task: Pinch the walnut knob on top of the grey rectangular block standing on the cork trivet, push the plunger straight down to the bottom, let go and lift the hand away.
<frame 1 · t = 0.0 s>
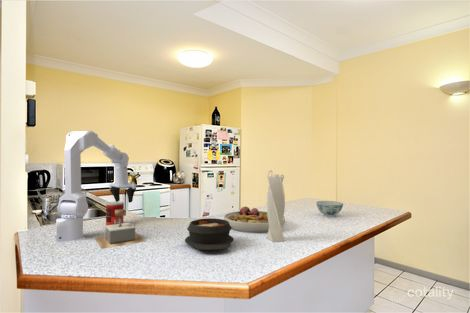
hand: (124, 201, 138), 11 cm above the counter, tool pointing down, fingers open, 7 cm apart
bowl: (254, 226, 132), on the counter
grey rectangular block: (120, 239, 105), resting on cork trivet
chinaware: (329, 216, 158), on the counter
plunger: (120, 219, 105), point 8 cm above the counter, slide at 3.0 cm
skyscraper: (275, 240, 109), on the counter
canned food: (114, 225, 131), on the counter
cork trivet: (120, 241, 105), on the counter
casserole: (209, 244, 102), on the counter
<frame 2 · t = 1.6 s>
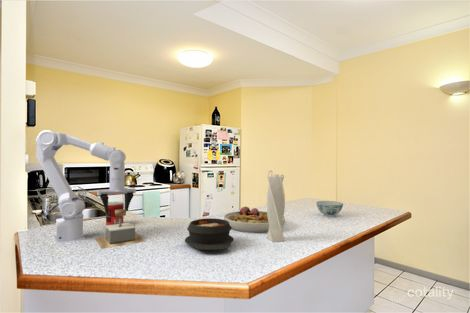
hand: (116, 211, 111), 10 cm above the counter, tool pointing down, fingers open, 7 cm apart
nothing on the counter moved.
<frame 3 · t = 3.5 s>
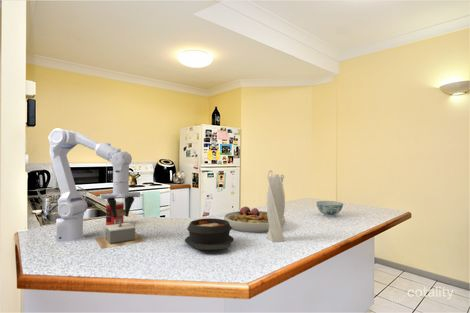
hand: (120, 216, 105), 10 cm above the counter, tool pointing down, fingers closed on plunger, 4 cm apart
plunger: (120, 219, 105), point 8 cm above the counter, slide at 3.0 cm, touching gripper
everything else where it was.
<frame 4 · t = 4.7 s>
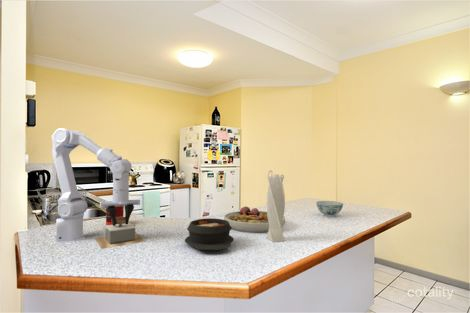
hand: (120, 224, 105), 6 cm above the counter, tool pointing down, fingers closed on plunger, 4 cm apart
plunger: (120, 227, 105), point 5 cm above the counter, slide at -0.1 cm, touching gripper
everything else where it was.
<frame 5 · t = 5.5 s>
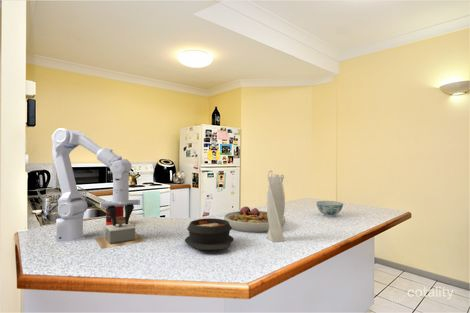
hand: (120, 224, 105), 6 cm above the counter, tool pointing down, fingers closed on plunger, 4 cm apart
plunger: (120, 227, 105), point 5 cm above the counter, slide at -0.1 cm, touching gripper
everything else where it was.
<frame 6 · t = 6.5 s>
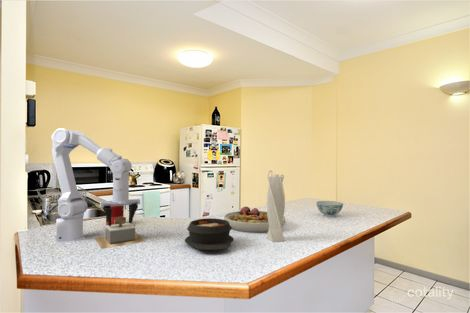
hand: (120, 224, 105), 7 cm above the counter, tool pointing down, fingers open, 7 cm apart
plunger: (120, 227, 105), point 5 cm above the counter, slide at -0.1 cm
everything else where it was.
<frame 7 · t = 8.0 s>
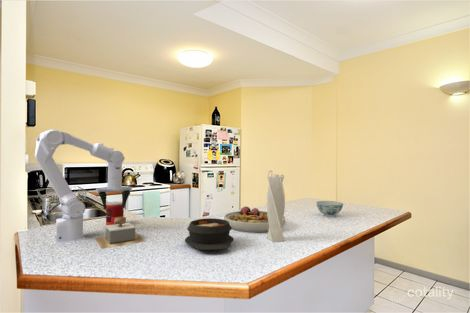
hand: (114, 208, 119), 10 cm above the counter, tool pointing down, fingers open, 7 cm apart
nothing on the counter moved.
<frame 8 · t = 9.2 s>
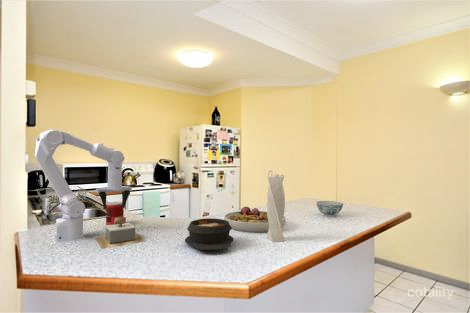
hand: (114, 208, 119), 10 cm above the counter, tool pointing down, fingers open, 7 cm apart
nothing on the counter moved.
at the end: plunger slide at -0.1 cm; the gripper is holding nothing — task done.
